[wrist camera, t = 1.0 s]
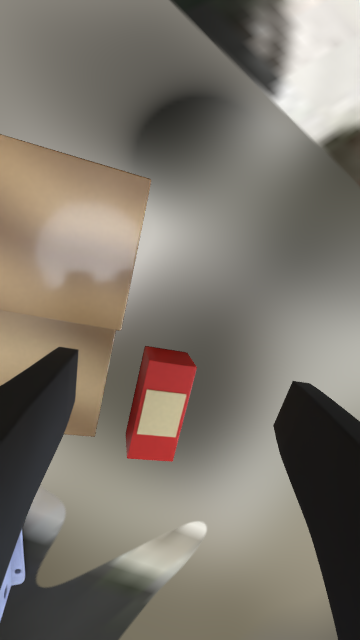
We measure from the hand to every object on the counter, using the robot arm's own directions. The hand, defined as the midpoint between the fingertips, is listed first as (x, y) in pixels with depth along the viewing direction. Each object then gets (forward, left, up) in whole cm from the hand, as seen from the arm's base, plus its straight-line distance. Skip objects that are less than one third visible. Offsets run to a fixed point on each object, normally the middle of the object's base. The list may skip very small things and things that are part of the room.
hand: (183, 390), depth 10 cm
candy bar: (-7, -1, -14) cm, 16 cm away
